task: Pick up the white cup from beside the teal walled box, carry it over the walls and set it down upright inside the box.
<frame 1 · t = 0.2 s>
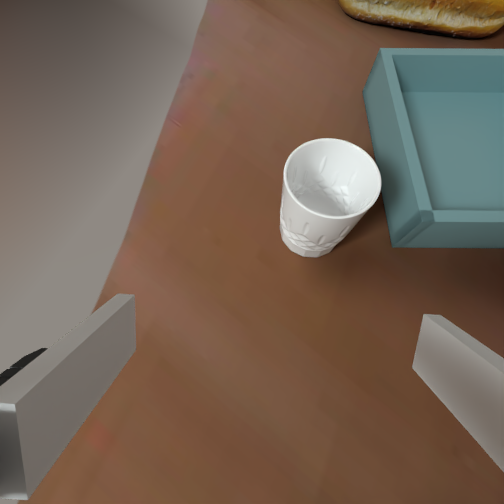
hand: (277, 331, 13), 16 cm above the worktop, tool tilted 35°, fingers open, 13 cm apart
bread: (412, 17, 48), on the worktop
white cup: (309, 231, 33), on the worktop
walled box: (454, 160, 36), on the worktop
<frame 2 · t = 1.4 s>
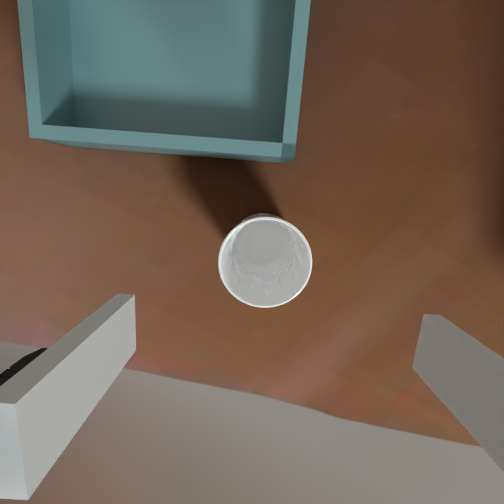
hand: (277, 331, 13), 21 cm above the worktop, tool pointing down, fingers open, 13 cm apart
white cup: (262, 241, 34), on the worktop
walled box: (181, 53, 30), on the worktop
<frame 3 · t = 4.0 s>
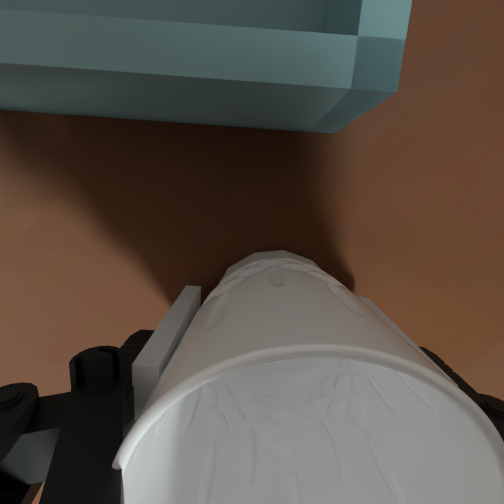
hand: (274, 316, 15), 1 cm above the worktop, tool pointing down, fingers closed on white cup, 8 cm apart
white cup: (273, 309, 15), on the worktop, touching gripper
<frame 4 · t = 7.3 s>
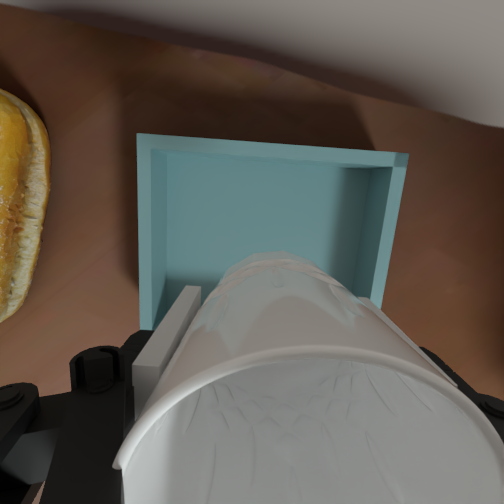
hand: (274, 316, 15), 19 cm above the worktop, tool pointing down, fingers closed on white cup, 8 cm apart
bread: (0, 213, 33), on the worktop
white cup: (273, 309, 15), point 18 cm above the worktop, touching gripper
walled box: (262, 242, 33), on the worktop
when the fingers open (3 cm above the worktop, at t = 10.7 s): white cup drops 1 cm, resting on walled box.
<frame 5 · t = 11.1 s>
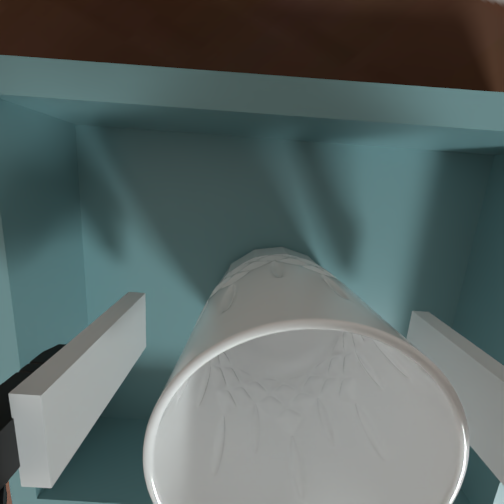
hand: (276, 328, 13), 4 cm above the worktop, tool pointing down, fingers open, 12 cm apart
white cup: (273, 301, 17), point 1 cm above the worktop, touching walled box
walled box: (271, 293, 18), on the worktop
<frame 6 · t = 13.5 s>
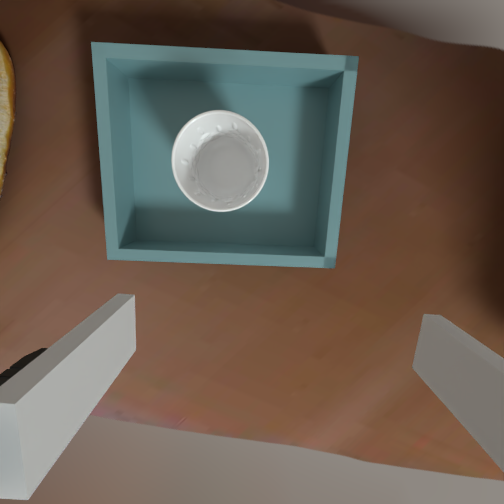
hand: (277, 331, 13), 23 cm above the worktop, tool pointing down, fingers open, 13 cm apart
white cup: (228, 169, 33), point 1 cm above the worktop, touching walled box
walled box: (228, 168, 34), on the worktop
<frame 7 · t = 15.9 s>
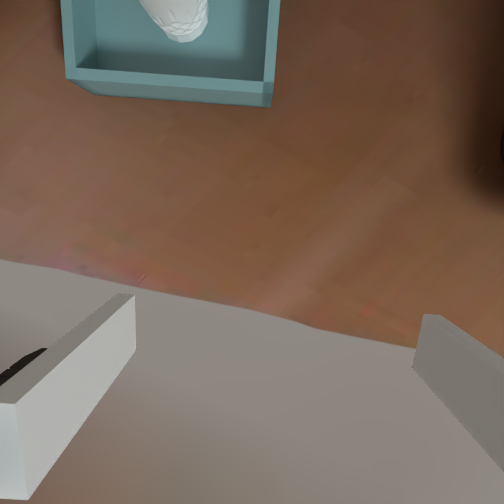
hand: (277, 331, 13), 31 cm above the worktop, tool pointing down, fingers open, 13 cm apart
white cup: (182, 13, 36), point 1 cm above the worktop, touching walled box
walled box: (183, 16, 37), on the worktop
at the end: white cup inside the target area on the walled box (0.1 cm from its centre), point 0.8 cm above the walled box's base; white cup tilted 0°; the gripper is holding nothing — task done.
